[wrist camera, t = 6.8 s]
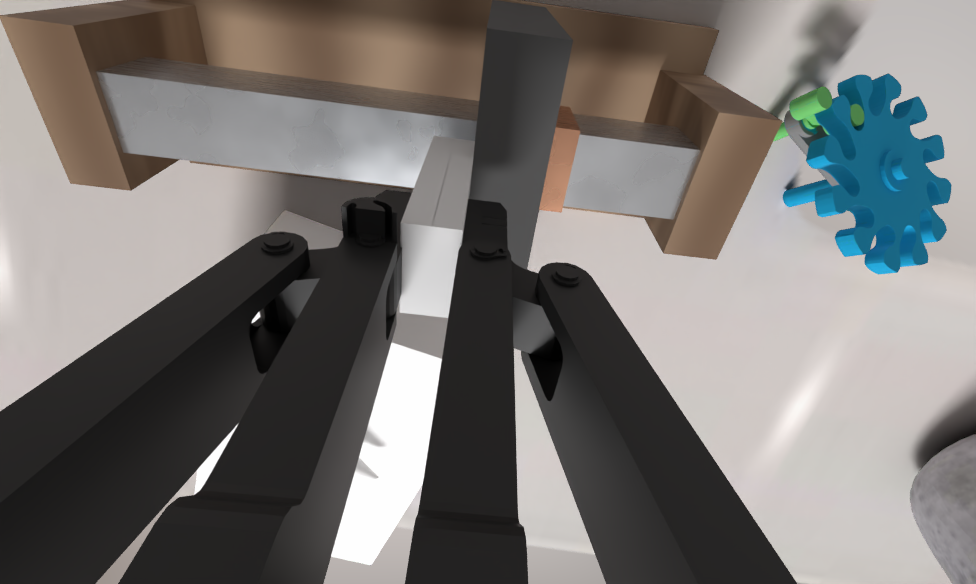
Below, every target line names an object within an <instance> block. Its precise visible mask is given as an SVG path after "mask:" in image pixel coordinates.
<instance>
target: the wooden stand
mask: <svg viewBox="0 0 976 584" xmlns="http://www.w3.org/2000/svg"><path fill="white" fill-rule="evenodd" d="M499 1H505V2H512V3H519V4H526V5H533V6H540V7H546V8H547V10H548V11H549V12H550V13H551V14H552V16H553V17H554V18H555V19H556V20H557V22H558V23H559V24H560V25H561V26H562V28H563V29H564V30H565V31H566V32H567V33H568V35H569V36H570V37H571V38H572V39H573V44H572V49H571V54H570V59H569V64H568V69H567V73H566V78H565V83H564V88H563V93H562V98H561V103H560V106H567V107H570V108H571V111H572V113H574V114H582V115H589V116H597V117H605V118H612V119H620V120H627V121H635V122H642V123H650V124H657V125H665V126H673V127H677V128H678V129H679V130H680V131H681V132H682V133H683V134H684V135H685V136H686V137H688V138H689V139H690V140H691V141H692V142H693V143H694V144H695V145H696V146H697V147H698V148H699V149H700V153H699V155H698V158H697V160H696V163H695V165H694V168H693V171H692V173H691V176H690V178H689V181H688V183H687V186H686V188H685V191H684V194H683V196H682V199H681V201H680V204H679V206H678V209H677V211H676V214H675V216H674V219H665V218H657V217H648V216H640V215H632V214H624V213H615V212H607V211H599V210H591V209H583V208H574V207H566V206H563V208H568V209H576V210H584V211H592V212H601V213H609V214H617V215H625V216H634V217H642V218H644V219H645V220H646V222H647V224H648V226H649V228H650V230H651V231H652V233H653V235H654V237H655V239H656V241H657V243H658V244H659V246H660V248H661V250H662V252H663V253H665V254H673V255H682V256H690V257H699V258H707V259H717V257H718V255H719V253H720V251H721V249H722V247H723V245H724V243H725V241H726V238H727V236H728V234H729V232H730V230H731V228H732V226H733V224H734V222H735V220H736V218H737V215H738V213H739V211H740V209H741V207H742V205H743V203H744V201H745V199H746V197H747V195H748V192H749V190H750V188H751V186H752V184H753V182H754V180H755V178H756V176H757V174H758V172H759V169H760V167H761V165H762V163H763V161H764V159H765V157H766V155H767V153H768V151H769V149H770V147H771V144H772V142H773V140H774V138H775V136H776V134H777V132H778V130H779V128H780V126H781V124H782V120H780V119H778V118H777V117H775V116H773V115H772V114H770V113H768V112H766V111H765V110H763V109H761V108H760V107H758V106H756V105H755V104H753V103H751V102H750V101H748V100H746V99H745V98H743V97H741V96H739V95H738V94H736V93H734V92H733V91H731V90H729V89H728V88H726V87H724V86H723V85H721V84H719V83H717V82H716V81H714V80H712V79H711V78H709V77H707V76H706V75H704V71H705V68H706V66H707V63H708V60H709V57H710V55H711V52H712V49H713V46H714V43H715V41H716V38H717V35H718V32H719V30H716V29H713V28H709V27H702V26H695V25H688V24H681V23H674V22H667V21H660V20H654V19H647V18H640V17H633V16H626V15H619V14H612V13H605V12H598V11H591V10H584V9H577V8H570V7H563V6H556V5H549V4H542V3H536V2H529V1H522V0H499ZM491 5H492V0H123V1H115V2H107V3H99V4H90V5H82V6H74V7H66V8H57V9H49V10H41V11H33V12H24V13H16V14H8V15H0V19H1V22H2V24H3V27H4V29H5V31H6V34H7V36H8V38H9V41H10V43H11V45H12V48H13V50H14V52H15V55H16V57H17V59H18V62H19V64H20V66H21V69H22V71H23V73H24V76H25V78H26V80H27V83H28V85H29V87H30V90H31V92H32V94H33V97H34V99H35V102H36V104H37V106H38V109H39V111H40V113H41V116H42V118H43V120H44V123H45V125H46V127H47V130H48V132H49V134H50V137H51V139H52V141H53V144H54V146H55V148H56V151H57V153H58V155H59V158H60V160H61V162H62V165H63V167H64V170H65V172H66V174H67V177H68V179H69V181H70V183H71V184H80V185H88V186H96V187H105V188H113V189H122V190H130V191H131V190H132V189H134V188H136V187H137V186H139V185H140V184H142V183H143V182H145V181H147V180H148V179H150V178H151V177H153V176H154V175H156V174H158V173H159V172H161V171H162V170H164V169H165V168H167V167H169V166H170V165H172V164H173V163H175V162H176V161H178V160H180V159H172V158H164V157H156V156H148V155H139V154H131V153H123V150H122V147H121V144H120V141H119V138H118V135H117V132H116V130H115V127H114V124H113V121H112V118H111V115H110V112H109V109H108V106H107V103H106V100H105V97H104V94H103V92H102V89H101V86H100V83H99V80H98V77H97V74H96V71H99V70H103V69H106V68H110V67H113V66H117V65H120V64H124V63H127V62H131V61H134V60H138V59H141V58H145V57H151V58H159V59H166V60H174V61H181V62H189V63H196V64H204V65H211V66H219V67H227V68H234V69H242V70H249V71H257V72H264V73H272V74H279V75H287V76H295V77H302V78H310V79H317V80H325V81H332V82H340V83H348V84H355V85H363V86H370V87H378V88H385V89H393V90H400V91H408V92H416V93H423V94H431V95H438V96H446V97H453V98H461V99H468V100H476V101H479V99H480V89H481V79H482V70H483V60H484V51H485V41H486V31H487V25H488V20H489V15H490V10H491ZM190 163H198V164H206V165H214V166H222V167H231V168H239V169H247V170H255V171H264V172H272V173H280V174H288V175H296V176H305V177H313V178H321V179H329V180H338V181H346V182H354V183H362V184H370V185H379V186H387V187H395V188H403V189H412V190H413V189H414V188H410V187H402V186H394V185H386V184H377V183H369V182H361V181H353V180H345V179H336V178H328V177H320V176H312V175H304V174H295V173H287V172H279V171H271V170H262V169H254V168H246V167H238V166H230V165H221V164H213V163H205V162H197V161H190Z"/></svg>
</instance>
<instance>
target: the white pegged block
mask: <svg viewBox="0 0 976 584" xmlns="http://www.w3.org/2000/svg"><path fill="white" fill-rule="evenodd" d="M271 232H289V233H295V234H297V235H300V236H302V237H304V238H305V239H306V240H307V242H308V250H311V249H326V248H334V247H337V246H338V245H339V243H340V242H341V240H342V238H343V231H340V230H337V229H335V228H332V227H329V226H327V225H324V224H321V223H319V222H316V221H313V220H311V219H308V218H305V217H302V216H300V215H297V214H294V213H292V212H289V211H286V210H284V211H283V212H282V214H281V215H280V216H279V217H278V218H277V219H276V221H275V222H274V223H273V224H272V225H271V226H270V228H269V229H268V230H267V231H266V232H265V233H264V234H268V233H271ZM258 318H260V313H259V312H258V313H257V315H256V316H255V317H254V319H253V320H252V323H253V322H255V321H256V320H257V319H258ZM447 323H448V318H444V317H435V316H426V315H417V314H408V313H400V300H399V304H398V307H397V325H396V328H395V332H394V335H393V339H392V343H391V346H390V350H389V353H388V357H387V360H386V364H385V367H384V371H383V374H382V378H381V381H380V385H379V388H378V392H377V396H376V399H375V403H374V406H373V410H372V413H371V417H370V420H369V424H368V427H367V431H366V434H365V438H364V441H363V445H362V448H361V452H360V456H359V459H358V463H357V466H356V470H355V473H354V477H353V480H352V484H351V487H350V491H349V494H348V498H347V501H346V505H345V509H344V512H343V516H342V519H341V523H340V526H339V530H338V533H337V537H336V540H335V544H334V547H333V551H332V554H331V556H332V557H336V558H340V559H345V560H349V561H354V562H358V563H363V564H368V565H372V563H373V561H374V560H375V558H376V557H377V555H378V554H379V552H380V550H381V549H382V547H383V546H384V544H385V542H386V541H387V539H388V538H389V536H390V535H391V533H392V531H393V530H394V528H395V527H396V525H397V524H398V522H399V520H400V519H401V517H402V516H403V514H404V513H405V511H406V509H407V508H408V506H409V505H410V503H411V502H412V500H413V498H414V497H415V495H416V494H417V492H418V490H419V489H420V487H421V486H422V484H423V479H424V473H425V466H426V460H427V453H428V447H429V440H430V434H431V427H432V421H433V414H434V408H435V401H436V394H437V388H438V381H439V375H440V368H441V362H442V355H443V349H444V342H445V336H446V329H447ZM238 424H239V423H238ZM236 427H237V426H236ZM236 427H235V428H234V429H233V430H232V431H231V432H230V433H229V435H228V436H227V437H226V438H225V439H224V440H223V441H222V442H221V444H220V445H219V446H218V447H217V448H216V449H215V450H214V451H213V452H212V454H211V455H210V456H209V457H208V458H207V459H206V460H205V461H204V463H203V464H202V465H201V466H200V467H199V468H198V469H197V477H196V486H195V494H196V493H197V492H198V491H200V490H201V488H202V487H203V485H204V484H205V482H206V481H207V479H208V477H209V475H210V474H211V472H212V470H213V468H214V466H215V465H216V463H217V461H218V459H219V458H220V456H221V454H222V452H223V450H224V449H225V447H226V445H227V443H228V441H229V440H230V438H231V436H232V434H233V433H234V431H235V429H236ZM195 494H194V495H195Z"/></svg>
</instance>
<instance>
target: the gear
mask: <svg viewBox="0 0 976 584" xmlns="http://www.w3.org/2000/svg"><path fill="white" fill-rule="evenodd" d="M838 94H839V97H836V98H834V99H832V96H831V94H830V92H829V90H828V89H827V88H826V87H820V88H817V89H815V90H813V91H811V92H809V93H807V94H804V95H802V96H800V97H798V98H796V99H794V100H792V101H791V102H790V106H789V109H790V110H789V111H788V112H787V113H786V115H785V119H784V122H783V123H782V124H781V126H780V128H779V130H778V132H777V134H776V136H775V138H774V140H773V141H776V140H778V139H781V138H783V137H786V136H788V135H789V136H790V137H791V138H792V140H793V141H794V142H795V143H796V144H797V146H798V147H799V148H800V149H801V150H802V151H803V153H804V154H805V155H806V156H807V159H806V161H807V163H808V164H809V166H811V167H812V168H815V169H818V170H819V171H820V173H821V174H822V175H823V176H824V177H825V179H826V180H822V181H818V182H815V183H811V184H807V185H804V186H800V187H797V188H793V189H790V190H786V191H785V192H784V194H783V200H784V203H785V204H786V205H787V206H788V207H792V206H796V205H800V204H804V203H808V202H812V201H815V205H816V210H817V214H818V216H820V217H826V216H831V215H835V214H840V213H844V212H845V211H846V210H847V211H850V212H852V213H853V215H854V217H855V219H856V226H855V228H850V229H845V230H840V231H838V232H837V234H836V236H835V240H836V243H837V245H838V247H839V249H840V251H841V252H842V254H843V255H844V256H845V257H847V256H855V255H863V254H866V256H865V265H866V266H867V268H869V269H870V270H871V271H873V272H875V273H877V274H886V273H897V272H898V271H899V269H900V267H904V266H914V265H922V264H925V263H928V254H927V250H926V249H925V246H924V244H923V243H929V242H937V241H939V240H941V239H942V237H943V236H944V234H945V232H946V226H945V223H944V221H943V220H942V219H940V217H939V216H938V215H937V214H936V213H935V211H934V210H933V208H932V206H933V205H938V204H944V203H948V201H949V199H950V194H951V183H950V182H949V181H948V180H947V179H945V178H939V177H937V176H935V175H934V174H933V173H932V172H931V171H930V170H929V169H928V167H927V166H926V164H925V163H928V162H932V161H936V160H940V159H942V158H944V147H943V142H942V137H941V136H939V135H934V136H930V137H927V138H924V139H921V140H919V139H917V138H915V137H914V136H913V135H912V134H911V131H910V125H913V124H916V123H919V122H922V121H924V120H926V118H927V112H926V109H925V107H924V105H923V103H922V101H921V99H920V98H919V97H915V98H912V99H909V100H907V101H904V102H901V103H899V104H897V105H896V106H895V108H894V112H893V115H892V113H891V111H890V103H891V101H892V100H893V99H896V98H898V97H899V96H900V94H901V85H900V84H899V82H898V81H897V80H896V79H895V78H894V77H893V76H891V75H890V74H886V75H884V76H881V77H879V78H877V79H875V80H871V78H870V77H869V76H867V75H856V76H854V77H852V78H849V79H847V80H845V81H843V82H840V83H838ZM875 235H876V245H875V247H874V248H873V249H871V250H870V248H871V244H872V241H873V238H874V236H875Z"/></svg>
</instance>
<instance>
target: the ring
mask: <svg viewBox="0 0 976 584" xmlns="http://www.w3.org/2000/svg"><path fill="white" fill-rule="evenodd" d="M572 44H573V39H572V38H571V37H570V36H569V35H568V33H567V32H566V31H565V30H564V29H563V28H562V26H561V25H560V24H559V23H558V22H557V20H556V19H555V18H554V17H553V16H552V14H551V13H550V12H549V11H548V10H547V8H546V7H540V6H533V5H526V4H519V3H512V2H505V1H499V0H492V5H491V10H490V15H489V20H488V25H487V31H486V41H485V51H484V60H483V70H482V79H481V89H480V99H479V108H478V118H477V127H476V137H475V146H474V156H473V166H472V176H471V185H470V195H469V199H474V200H482V201H491V202H499V203H501V204H502V205H503V207H504V208H505V209H506V210H507V240H508V250H509V251H510V254H511V260H512V261H513V262H514V263H515V264H516V265H518V266H520V267H522V268H524V269H526V270H527V267H528V262H529V257H530V252H531V247H532V242H533V237H534V232H535V227H536V222H537V217H538V212H539V207H540V202H541V197H542V192H543V187H544V182H545V177H546V172H547V168H548V163H549V158H550V153H551V148H552V143H553V138H554V133H555V128H556V123H557V118H558V113H559V108H560V103H561V98H562V93H563V88H564V83H565V78H566V73H567V69H568V64H569V59H570V54H571V49H572Z"/></svg>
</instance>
